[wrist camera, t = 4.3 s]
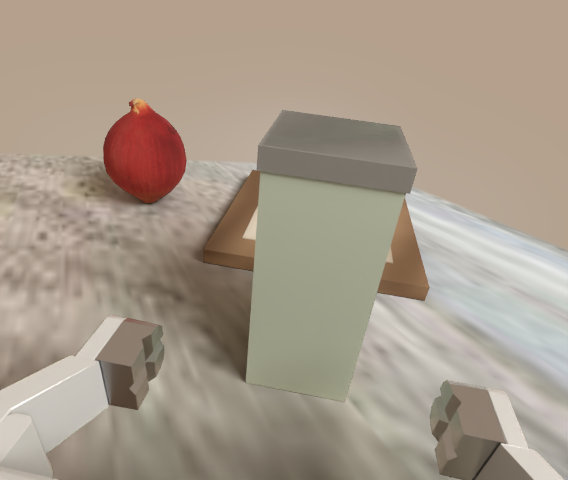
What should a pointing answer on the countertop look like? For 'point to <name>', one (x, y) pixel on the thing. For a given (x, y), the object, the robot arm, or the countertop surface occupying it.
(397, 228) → the board
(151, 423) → the countertop surface
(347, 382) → the tea tin
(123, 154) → the onion
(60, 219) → the countertop surface
